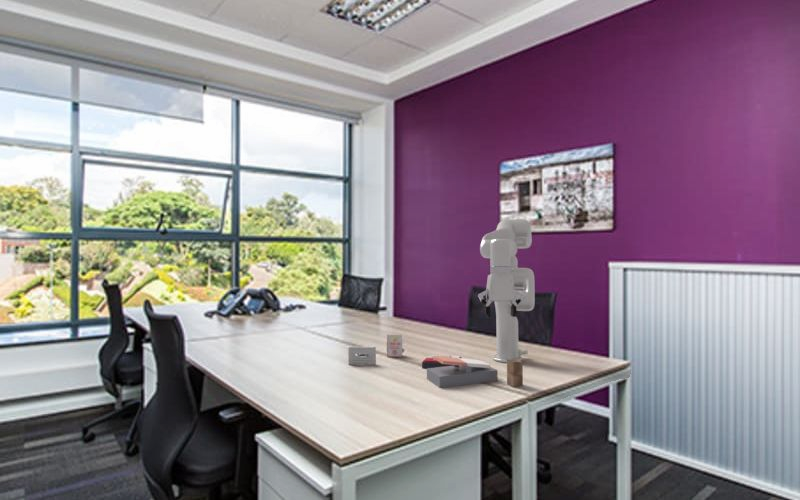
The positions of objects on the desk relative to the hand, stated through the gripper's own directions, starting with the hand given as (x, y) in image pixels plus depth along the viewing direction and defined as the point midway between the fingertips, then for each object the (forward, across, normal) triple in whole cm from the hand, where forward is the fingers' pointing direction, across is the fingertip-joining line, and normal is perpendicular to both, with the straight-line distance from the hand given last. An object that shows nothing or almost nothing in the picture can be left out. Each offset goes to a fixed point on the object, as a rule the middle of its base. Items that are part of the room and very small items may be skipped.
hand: (500, 316), depth 171 cm
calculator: (+24, +18, -24) cm, 39 cm away
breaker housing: (+24, +14, -4) cm, 28 cm away
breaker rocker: (+18, +14, -4) cm, 24 cm away
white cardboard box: (+24, +36, -45) cm, 63 cm away
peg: (+24, -4, +5) cm, 25 cm away
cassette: (+24, +52, -32) cm, 66 cm away
